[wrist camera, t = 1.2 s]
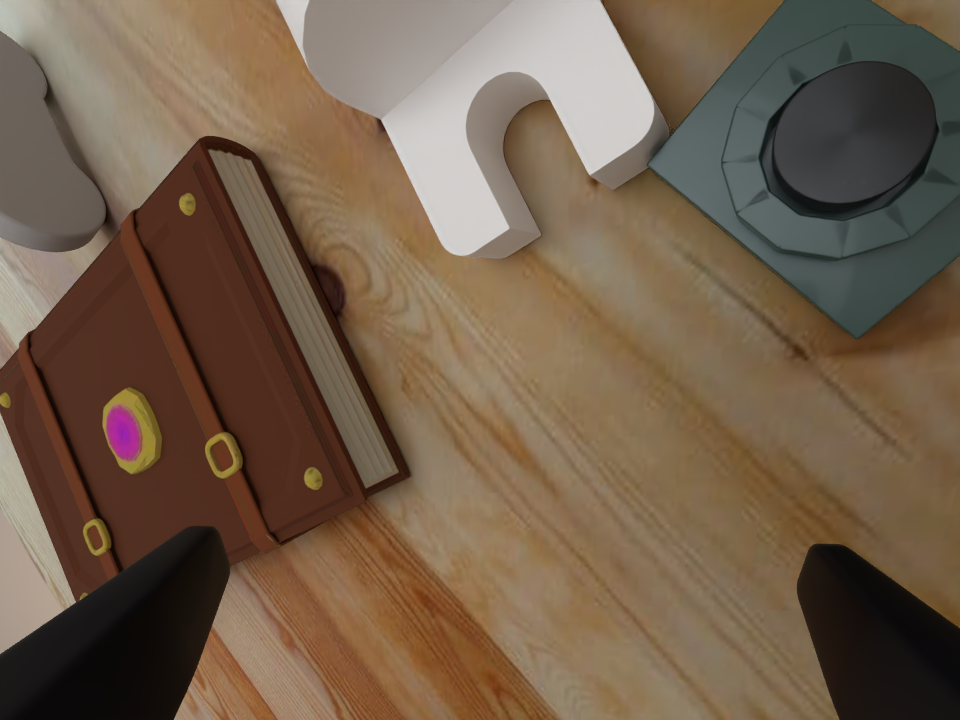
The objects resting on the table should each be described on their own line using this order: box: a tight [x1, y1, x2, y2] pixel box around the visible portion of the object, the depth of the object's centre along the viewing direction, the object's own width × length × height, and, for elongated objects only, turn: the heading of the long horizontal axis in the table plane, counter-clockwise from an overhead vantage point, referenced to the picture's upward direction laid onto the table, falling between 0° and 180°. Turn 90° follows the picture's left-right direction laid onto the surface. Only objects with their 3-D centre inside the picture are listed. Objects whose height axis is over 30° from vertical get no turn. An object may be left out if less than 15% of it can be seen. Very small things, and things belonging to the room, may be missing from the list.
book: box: [0, 136, 410, 602], centre depth 37 cm, size 23×32×5 cm
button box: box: [647, 0, 960, 339], centre depth 19 cm, size 10×8×4 cm
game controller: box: [0, 31, 106, 252], centre depth 39 cm, size 20×2×8 cm, turn 32°
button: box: [772, 61, 936, 211], centre depth 17 cm, size 4×4×2 cm
